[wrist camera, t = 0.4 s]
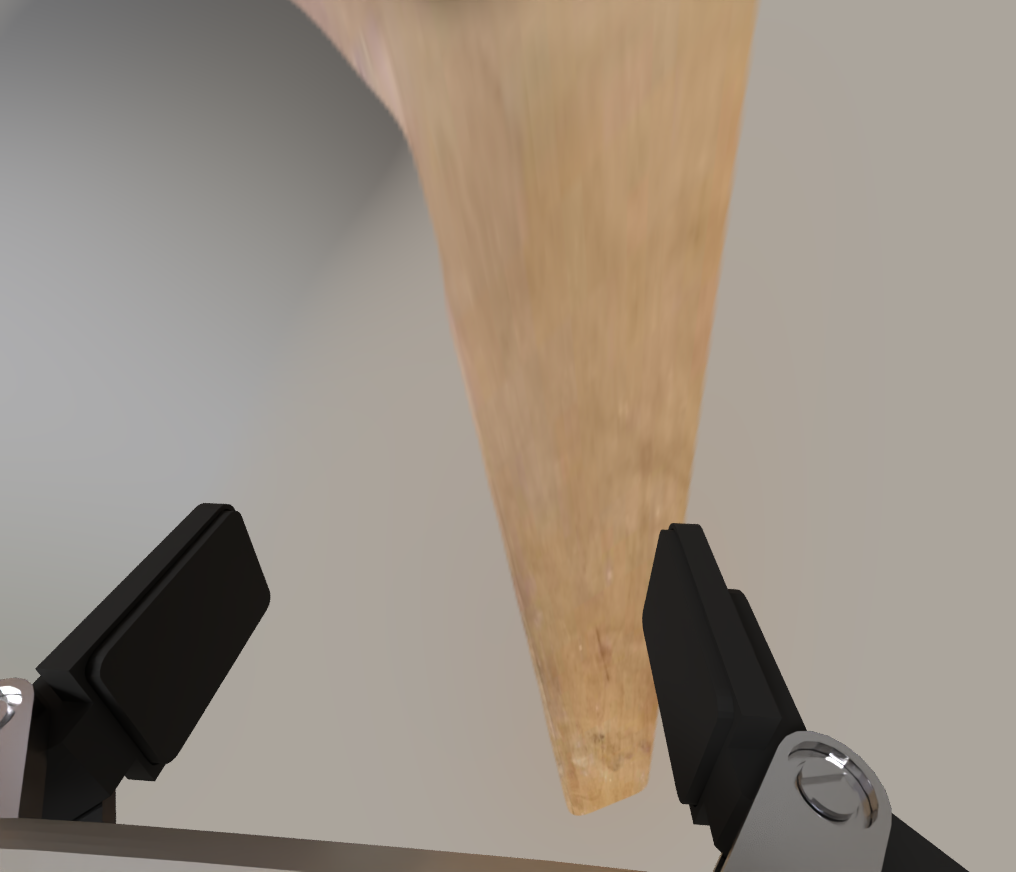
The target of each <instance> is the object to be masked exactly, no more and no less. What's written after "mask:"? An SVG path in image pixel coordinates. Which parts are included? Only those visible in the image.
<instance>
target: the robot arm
mask: <svg viewBox="0 0 1016 872" xmlns="http://www.w3.org/2000/svg"><path fill="white" fill-rule="evenodd" d="M269 603H270V591H269V588H268V585H267V583H266V580H265V577H264V575H263V572H262V570H261V567H260V564H259V561H258V559H257V556H256V553H255V551H254V548H253V545H252V543H251V540H250V537H249V535H248V532H247V529H246V526H245V524H244V521H243V518H242V516H241V514H240V513H239V512H238V511H235V509H234V507H233V506H231V505H229V504H213V503H203V504H200V505H198V506H197V507H196V508H195V509H194V510H193V511H192V512H191V513H190V514H189V515H188V516H187V517H186V518H185V519H184V520H183V521H182V522H181V523H180V524H179V525H178V526H177V527H176V528H175V529H174V530H173V531H172V532H171V533H170V534H169V535H168V536H167V537H166V538H165V539H164V540H163V541H162V542H161V543H160V544H159V545H158V546H157V547H156V548H155V549H154V550H153V551H152V552H151V553H150V554H149V555H148V556H147V557H146V558H145V559H144V560H143V561H142V562H141V563H140V564H139V565H138V566H137V567H136V568H135V569H134V570H133V571H132V572H131V573H130V574H129V575H128V576H127V577H126V578H125V579H124V580H123V581H122V582H121V583H120V584H119V585H118V586H117V587H116V588H115V589H114V590H113V591H112V592H111V593H110V594H109V595H108V596H107V597H106V598H105V599H104V600H103V601H102V602H101V603H100V604H99V605H98V606H97V607H96V608H95V609H94V610H93V611H92V612H91V613H90V614H89V615H88V616H87V617H86V619H84V620H83V621H82V622H81V623H80V624H79V625H78V626H77V627H76V628H75V629H74V631H72V632H71V633H70V634H69V635H68V636H67V637H66V638H65V640H63V641H62V642H61V643H60V644H59V645H58V646H57V647H56V649H54V650H53V651H52V652H51V654H49V655H48V656H47V657H46V659H45V660H44V661H42V662H41V663H40V664H39V665H38V667H37V668H36V670H37V671H38V673H39V674H40V675H41V676H40V677H39V678H38V679H37V680H36V681H35V682H34V683H33V684H31V683H30V682H29V681H28V680H26V679H21V678H9V679H1V680H0V872H645V871H636V870H627V869H617V868H609V867H600V866H590V865H581V864H573V863H563V862H555V861H545V860H534V859H523V858H511V857H500V856H490V855H478V854H467V853H456V852H446V851H435V850H424V849H413V848H401V847H389V846H378V845H367V844H354V843H343V842H332V841H319V840H307V839H296V838H285V837H273V836H261V835H249V834H238V833H225V832H213V831H200V830H187V829H175V828H161V827H150V826H138V825H125V824H116V792H115V791H116V788H117V786H118V785H119V783H120V782H121V780H122V779H123V777H124V776H126V778H127V779H132V780H144V781H155V780H156V779H157V777H158V775H159V774H160V772H161V771H162V769H163V767H164V766H165V764H168V763H169V762H171V761H172V760H173V759H174V758H175V757H176V756H177V755H178V753H179V752H180V750H181V749H182V747H183V745H184V744H185V742H186V740H187V739H188V737H189V736H190V734H191V732H192V731H193V729H194V727H195V726H196V724H197V722H198V721H199V719H200V718H201V716H202V714H203V713H204V711H205V709H206V708H207V706H208V705H209V703H210V701H211V699H212V698H213V696H214V695H215V693H216V692H217V690H218V688H219V687H220V685H221V683H222V682H223V680H224V679H225V677H226V675H227V674H228V672H229V670H230V669H231V667H232V665H233V664H234V662H235V661H236V659H237V657H238V656H239V654H240V652H241V651H242V649H243V648H244V646H245V644H246V642H247V641H248V639H249V638H250V636H251V634H252V633H253V631H254V630H255V628H256V626H257V625H258V623H259V622H260V620H261V618H262V617H263V615H264V613H265V612H266V610H267V608H268V606H269ZM642 623H643V631H644V636H645V641H646V646H647V651H648V655H649V660H650V665H651V670H652V675H653V680H654V684H655V689H656V694H657V699H658V704H659V708H660V713H661V718H662V722H663V727H664V732H665V737H666V742H667V747H668V752H669V757H670V762H671V766H672V771H673V776H674V781H675V786H676V790H677V794H678V797H679V800H680V802H681V803H682V804H689V806H690V810H691V815H692V820H693V824H698V825H710V829H711V833H712V837H713V841H714V845H715V847H716V848H717V849H718V850H719V851H720V852H721V855H720V857H719V859H718V861H717V863H716V866H715V868H714V870H713V872H969V871H967V870H966V869H965V868H963V867H962V866H961V865H960V864H958V863H957V862H956V861H954V860H953V859H951V858H950V857H949V856H948V855H946V854H945V853H944V852H942V851H941V850H940V849H938V848H937V847H936V846H935V845H933V844H932V843H931V842H929V841H928V840H927V839H925V838H924V837H923V836H921V835H920V834H919V833H917V832H916V831H915V830H913V829H912V828H911V827H909V826H908V825H907V824H906V823H904V822H903V821H902V820H900V819H899V818H898V817H896V816H895V815H894V814H892V812H891V805H890V802H889V799H888V796H887V793H886V790H885V789H884V787H883V785H882V784H881V782H880V781H879V779H878V777H877V776H876V774H875V772H874V771H873V770H872V769H871V768H870V767H869V766H868V765H867V764H866V763H865V761H864V760H863V759H862V758H861V757H860V756H858V755H857V754H856V753H855V752H853V751H852V750H851V749H850V748H848V747H847V746H846V745H844V744H843V743H841V742H839V741H837V740H835V739H833V738H831V737H829V736H827V735H824V734H820V733H817V732H813V731H807V730H806V727H805V725H804V723H803V721H802V719H801V717H800V714H799V712H798V710H797V708H796V706H795V704H794V701H793V699H792V697H791V695H790V693H789V690H788V688H787V686H786V684H785V681H784V679H783V677H782V675H781V673H780V670H779V668H778V666H777V664H776V662H775V659H774V657H773V655H772V653H771V651H770V649H769V646H768V644H767V642H766V640H765V638H764V636H763V633H762V631H761V629H760V627H759V625H758V622H757V620H756V618H755V616H754V613H753V611H752V609H751V607H750V605H749V602H748V600H747V599H746V597H745V595H744V594H743V593H742V592H741V591H740V590H736V589H727V586H726V584H725V582H724V579H723V577H722V575H721V572H720V570H719V567H718V565H717V563H716V560H715V558H714V556H713V553H712V551H711V549H710V546H709V544H708V541H707V539H706V537H705V534H704V532H703V529H702V528H701V526H700V525H698V524H680V523H672V524H670V526H669V529H668V530H661V531H660V534H659V539H658V544H657V548H656V553H655V558H654V562H653V567H652V572H651V576H650V581H649V586H648V590H647V595H646V600H645V604H644V609H643V616H642Z"/></svg>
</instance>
